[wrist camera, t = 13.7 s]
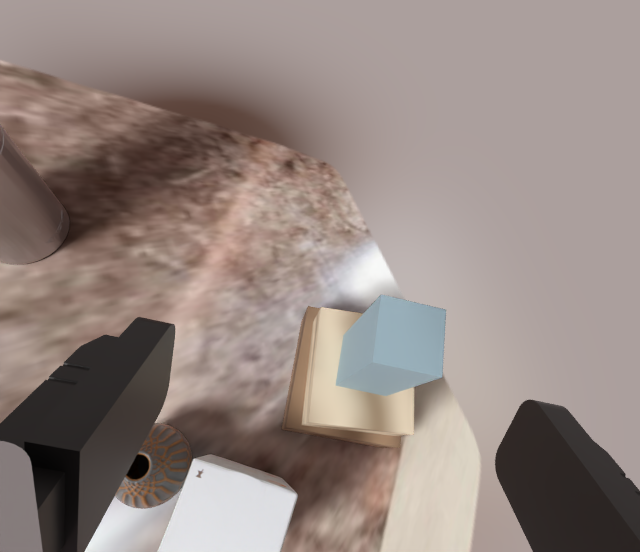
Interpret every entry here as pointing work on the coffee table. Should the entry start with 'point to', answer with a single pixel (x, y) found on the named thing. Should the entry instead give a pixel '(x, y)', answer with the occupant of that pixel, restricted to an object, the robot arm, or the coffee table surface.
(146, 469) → the vase
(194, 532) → the small box
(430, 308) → the block
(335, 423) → the tower top
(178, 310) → the coffee table surface
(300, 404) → the tower base
